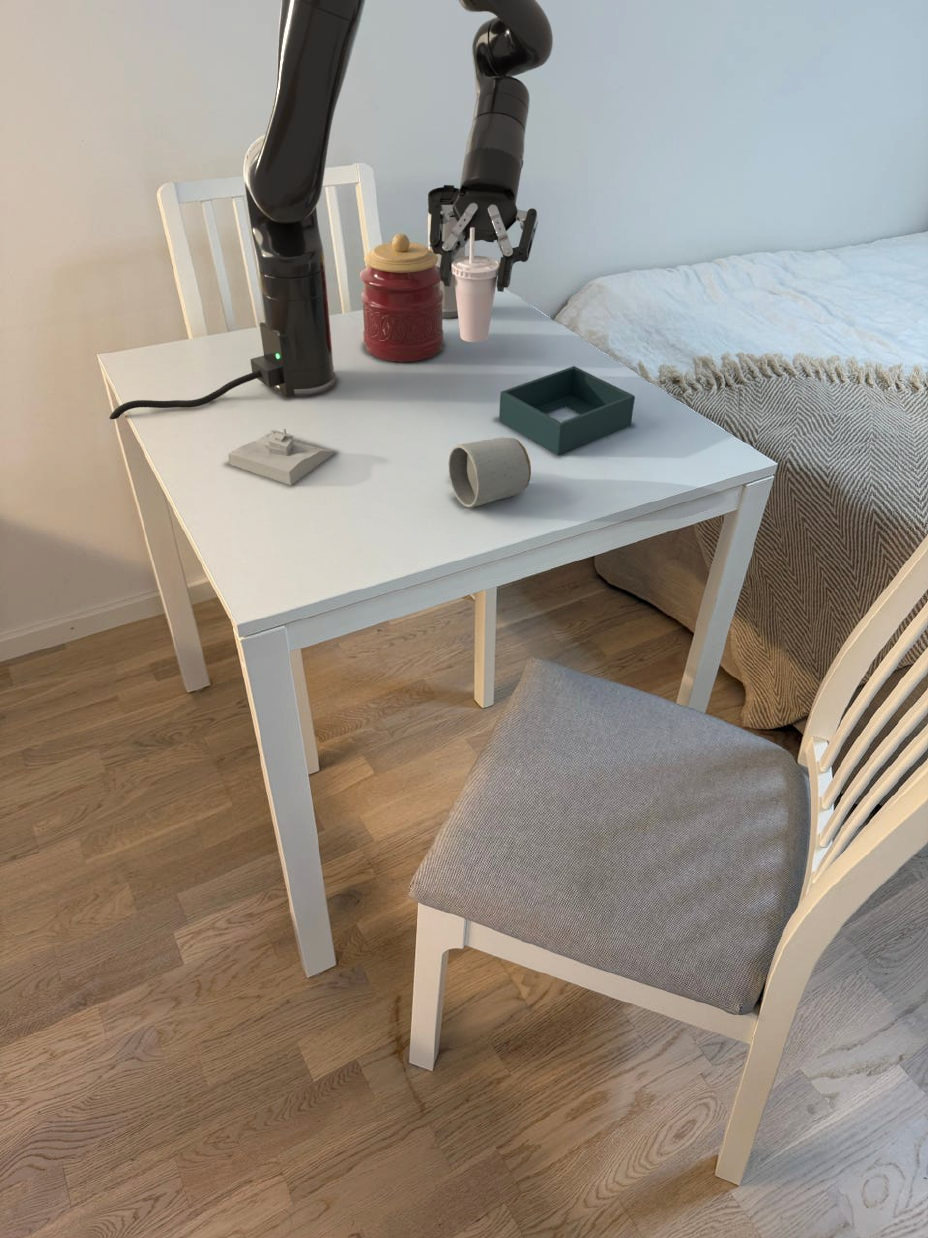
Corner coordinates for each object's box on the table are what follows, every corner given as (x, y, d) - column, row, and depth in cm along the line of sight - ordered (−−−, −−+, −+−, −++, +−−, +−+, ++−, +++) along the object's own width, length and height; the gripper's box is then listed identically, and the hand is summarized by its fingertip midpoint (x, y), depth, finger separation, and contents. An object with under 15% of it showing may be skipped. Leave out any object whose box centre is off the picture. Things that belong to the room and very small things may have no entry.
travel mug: (465, 305, 159) (468, 185, 146) (462, 319, 154) (464, 196, 141) (431, 303, 159) (430, 183, 146) (426, 317, 154) (425, 194, 141)
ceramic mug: (533, 501, 109) (537, 446, 104) (476, 519, 106) (477, 462, 101) (489, 464, 116) (491, 410, 112) (434, 479, 113) (434, 425, 108)
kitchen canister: (409, 324, 152) (406, 216, 140) (459, 348, 144) (461, 235, 133) (348, 344, 145) (340, 232, 133) (398, 370, 138) (394, 254, 126)
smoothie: (448, 327, 122) (449, 220, 113) (495, 326, 122) (499, 219, 113) (452, 346, 117) (453, 236, 108) (500, 345, 117) (505, 235, 108)
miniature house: (339, 445, 119) (337, 420, 117) (308, 487, 111) (305, 461, 109) (257, 433, 122) (253, 408, 119) (221, 474, 113) (216, 448, 111)
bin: (557, 455, 118) (560, 425, 115) (498, 420, 126) (500, 391, 123) (630, 425, 125) (635, 395, 122) (571, 394, 132) (573, 365, 130)
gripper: (434, 141, 112) (413, 267, 111) (547, 149, 110) (526, 277, 109) (443, 176, 119) (423, 294, 118) (549, 183, 117) (530, 304, 116)
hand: (473, 285), depth 113 cm, fingers closed on smoothie, 6 cm apart
